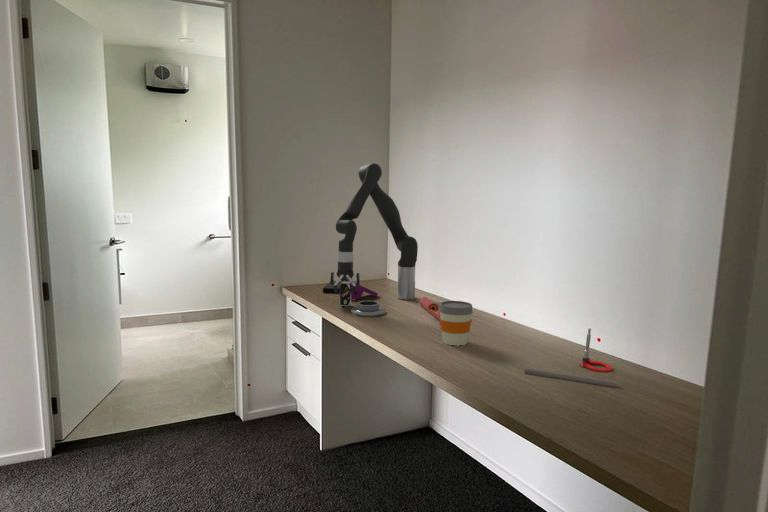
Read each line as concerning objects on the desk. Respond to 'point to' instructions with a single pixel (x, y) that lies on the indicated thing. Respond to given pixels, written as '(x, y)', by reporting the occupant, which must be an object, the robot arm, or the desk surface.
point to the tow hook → (588, 361)
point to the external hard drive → (332, 287)
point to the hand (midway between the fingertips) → (344, 293)
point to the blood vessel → (430, 307)
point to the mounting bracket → (360, 291)
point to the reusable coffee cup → (455, 321)
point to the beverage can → (345, 294)
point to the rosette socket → (368, 308)
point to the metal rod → (571, 377)
